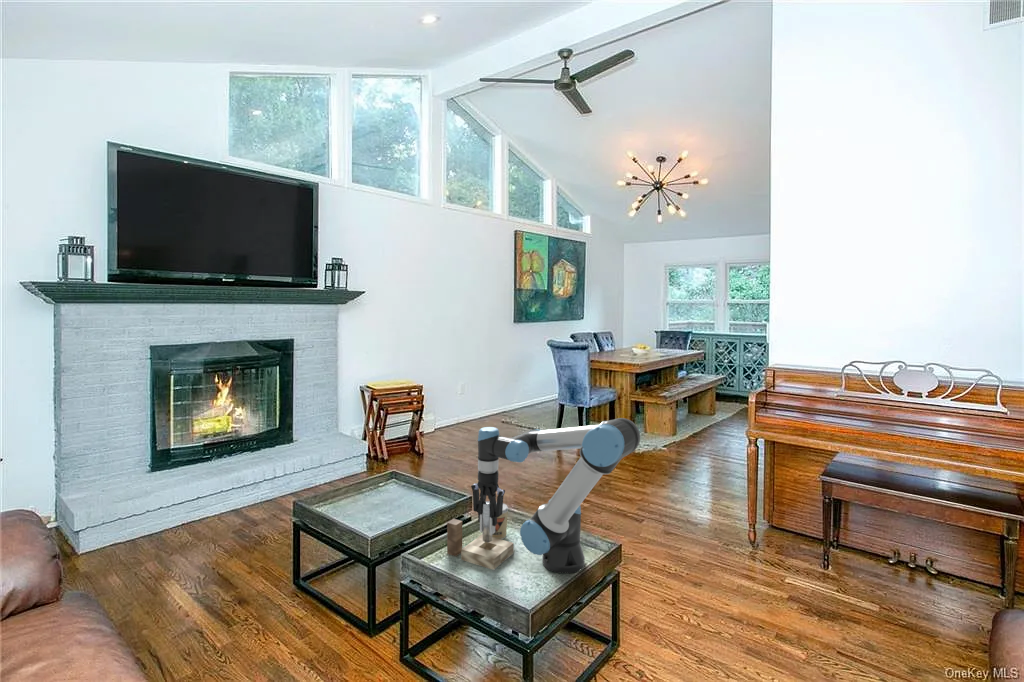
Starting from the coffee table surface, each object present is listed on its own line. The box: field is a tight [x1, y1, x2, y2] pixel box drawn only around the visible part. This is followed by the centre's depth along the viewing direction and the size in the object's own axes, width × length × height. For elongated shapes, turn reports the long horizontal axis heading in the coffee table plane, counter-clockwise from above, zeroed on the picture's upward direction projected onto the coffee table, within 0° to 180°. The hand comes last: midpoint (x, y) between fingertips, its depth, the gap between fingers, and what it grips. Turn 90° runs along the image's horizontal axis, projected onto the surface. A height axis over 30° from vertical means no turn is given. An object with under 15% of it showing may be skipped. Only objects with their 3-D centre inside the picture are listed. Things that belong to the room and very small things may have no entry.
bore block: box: [460, 533, 515, 571], centre depth 194 cm, size 14×14×4 cm
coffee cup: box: [492, 502, 509, 540], centre depth 210 cm, size 9×9×12 cm
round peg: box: [482, 501, 492, 542], centre depth 193 cm, size 4×4×14 cm
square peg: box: [446, 518, 463, 557], centre depth 196 cm, size 4×4×12 cm
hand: (487, 532), depth 193 cm, fingers closed on round peg, 3 cm apart
